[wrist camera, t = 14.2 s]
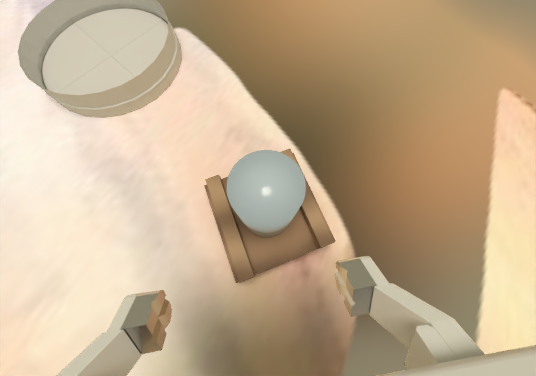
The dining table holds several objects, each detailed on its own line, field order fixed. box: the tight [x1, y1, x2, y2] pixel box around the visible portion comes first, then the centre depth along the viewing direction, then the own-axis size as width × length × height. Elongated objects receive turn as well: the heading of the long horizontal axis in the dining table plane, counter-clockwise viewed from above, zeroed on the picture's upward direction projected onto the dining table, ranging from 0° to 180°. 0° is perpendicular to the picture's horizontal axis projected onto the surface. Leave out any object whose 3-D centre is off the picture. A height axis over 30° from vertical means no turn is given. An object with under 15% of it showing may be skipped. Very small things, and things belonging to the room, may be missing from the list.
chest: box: [204, 149, 335, 283], centre depth 27 cm, size 12×12×5 cm
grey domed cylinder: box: [227, 150, 306, 238], centre depth 21 cm, size 6×6×10 cm
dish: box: [18, 0, 182, 118], centre depth 35 cm, size 22×22×5 cm
